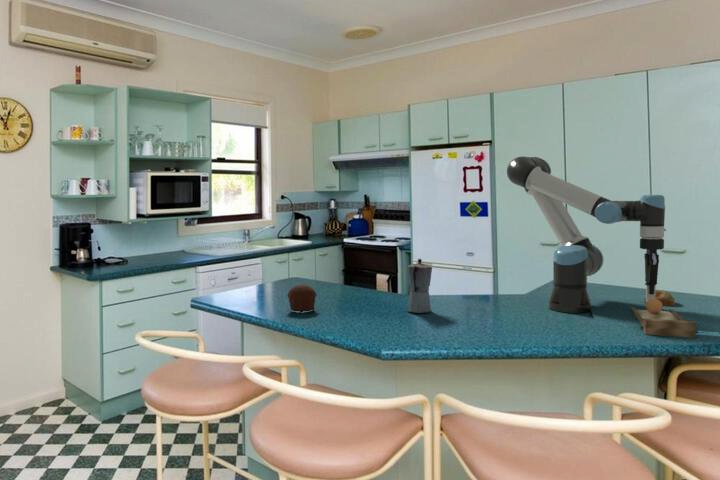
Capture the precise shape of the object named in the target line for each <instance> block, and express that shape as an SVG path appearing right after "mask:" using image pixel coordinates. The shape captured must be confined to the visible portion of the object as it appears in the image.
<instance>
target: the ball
mask: <svg viewBox="0 0 720 480" xmlns="http://www.w3.org/2000/svg"><path fill="white" fill-rule="evenodd" d="M663 307H664V306H662V303H661V302H660V301H659V300H657V299H650V300H649V301H647V303H645V308H646V310H648V311H649V312H651V313H659V312H660V311H663Z"/></svg>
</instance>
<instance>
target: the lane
mask: <svg viewBox="0 0 720 480" xmlns="http://www.w3.org/2000/svg"><path fill="white" fill-rule="evenodd" d="M630 307H631V308H630V310H631V311H632V313H633V314H634V317H636V320H638V322H639V323H640V325H641V326H640V329H641V330H642V332H643V331H644V332H643V333H644V335H648V336H649V335H650V336H664V337H677V338H678V337H679V338H691V339H692V338H693V339H696V324H697V323H696V322H695V321H693V320H685V319H683V318H682V316H681V315H679V314H678V313H677V312H676V311H675V310H674V308H673V309H669V310H668V311H665V310H661V311H660V312H659V313H651V312H649V311H648V310H647V309H636V307H635V306H630Z"/></svg>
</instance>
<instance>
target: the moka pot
mask: <svg viewBox="0 0 720 480" xmlns="http://www.w3.org/2000/svg"><path fill="white" fill-rule="evenodd" d="M422 261H423V260H422V259H421V258H418V259H417V263H413V264H409V265H407V266H406V267H407V268H406V269H407V276H408V277H407V278H408V284H409V291H410V292H409V296H408V304H407V309H406V310H407V312H410V313H414V314H426V313H427V314H428V313H430V312H432V307H431V299H430V286H431V280H432V272H433V271H432V270H433V266H432V265H429V264H425V263H422Z"/></svg>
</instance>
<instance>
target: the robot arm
mask: <svg viewBox="0 0 720 480" xmlns="http://www.w3.org/2000/svg"><path fill="white" fill-rule="evenodd" d="M506 175H507V176H506V177H508V178H507V179H508V181H510V182H511V183H512V184H514V185H516V186H518V187H521V188H523V189H524V191H525V192H526V194H527V195H530V196H533V199H534V200H535V201H536V203H537V206H538V207H539V209H540V210H541V213H542V214H543V216H544V217H545V220H546V221H547V223H548V224H549V226H550V228H551V230H552V232H553V233H554V235H555V236H556V239H557V240H558V242H559V244H560V246H559V247H556V248H555V249H554V251H553V257H552V260H553V277H552V278H553V283H552V284H553V286H552V291H551V293H550V296H549V298H548V300H547V307H548V309H549V310H553V311H557V312H561V313H570V314H571V313H572V314H578V313H589V312H591V311H592V301H591V298H590V295H589V292H588V277H589V276H590V277H591V276H593V275H595V274H596V273H597V272H599V271H600V270H601V269H602V267H603V264H604V255H603V253H602V251H601V250H600V249H599V248H598V247H596V246H595V245H593V243H592V242H591V239H590V238H589V237H587V236H584V235H582V233H581V231H580V230H579V228H578V226H577V224H576V223H575V220H574V219H573V218H572V216H571V215H570V213H569V211H568V209H567V207H566V206H565V205H568V206H570V207H573V208H574V209H577V210H579V211H581V212H583V213H585V214H588V215H590V216H592V217H594V218H596V220H597V221H599V222H600V223H602V224H606V225H610V224H611V225H612V224H615V223H620V222H639V237H640V239H639V248H640V249H642V250H646V251H645V252H646V253H644V254H643V255H644V256H643V258H644V275H645V276H644V277H645V279H644V280H645V283H644V285H645V298H646V303H647V301H649V300H650V299H655V291H657V290H656V288H657V287H656V286H657V284H658V275H659V274H658V273H659V263H660V257H659V256H660V255H659V254H658V252H657V251H659V250H663V249H665V239H664V237H665V232H666V231H667V228H665V219H666V217H665V216H666V215H665V213H666V205H665V204H666V203H665V201H666V199H665V196H664V195H663V194H643V195H641V196H640V200H611V199H609V198H606V197H604V196H601V195H599V194H597V193H594V192H592V191H589V190H588V189H585V188H583V187H580V186H578V185H575V184H573V183H571V182H568V181H566V180H564V179H562V178H559V177H557V176H555V175H553V174H552V169H551V166H550V164H549V163H548V162H547V160H545V159H543V158H541V157H537V156H531V157H530V156H522V155H521V156H516V157H515V158H513V159H512V160H511V161H510V162H509V163H508V165H507V167H506ZM646 303H645V304H646Z"/></svg>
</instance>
